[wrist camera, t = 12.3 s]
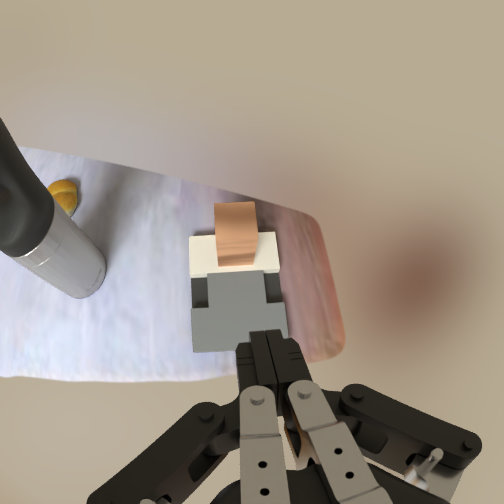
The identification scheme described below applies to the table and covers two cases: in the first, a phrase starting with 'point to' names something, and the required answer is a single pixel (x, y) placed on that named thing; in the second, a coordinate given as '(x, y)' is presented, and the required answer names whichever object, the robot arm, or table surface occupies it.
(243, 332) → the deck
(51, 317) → the table surface
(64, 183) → the bread roll
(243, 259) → the block
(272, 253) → the pad
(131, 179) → the table surface
